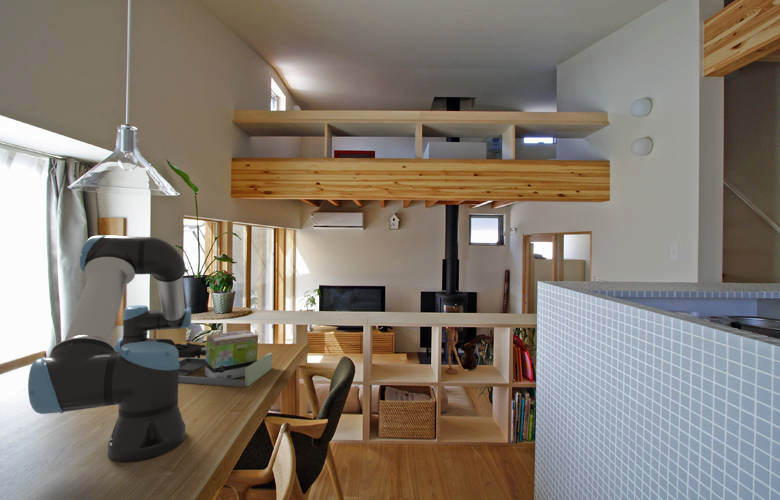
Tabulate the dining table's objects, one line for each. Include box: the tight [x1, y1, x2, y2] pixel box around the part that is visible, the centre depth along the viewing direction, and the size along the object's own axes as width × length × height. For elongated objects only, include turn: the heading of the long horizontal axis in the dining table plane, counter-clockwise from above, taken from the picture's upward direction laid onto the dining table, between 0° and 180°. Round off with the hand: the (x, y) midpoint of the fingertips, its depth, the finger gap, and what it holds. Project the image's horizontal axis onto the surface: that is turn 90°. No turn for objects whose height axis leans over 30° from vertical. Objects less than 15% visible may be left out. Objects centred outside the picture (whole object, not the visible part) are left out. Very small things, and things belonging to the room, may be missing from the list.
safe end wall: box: [244, 352, 273, 387], centre depth 129 cm, size 18×1×6 cm, turn 174°
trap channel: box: [178, 357, 246, 388], centre depth 131 cm, size 20×35×2 cm, turn 84°
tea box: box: [204, 329, 259, 379], centre depth 129 cm, size 15×10×15 cm
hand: (218, 352), depth 131 cm, fingers closed
